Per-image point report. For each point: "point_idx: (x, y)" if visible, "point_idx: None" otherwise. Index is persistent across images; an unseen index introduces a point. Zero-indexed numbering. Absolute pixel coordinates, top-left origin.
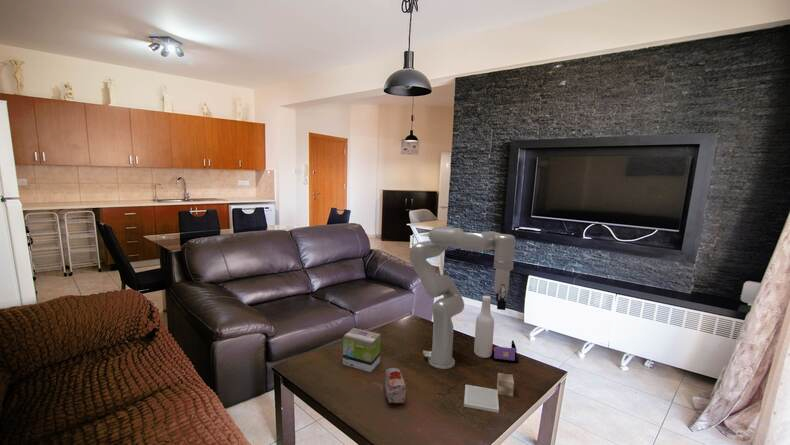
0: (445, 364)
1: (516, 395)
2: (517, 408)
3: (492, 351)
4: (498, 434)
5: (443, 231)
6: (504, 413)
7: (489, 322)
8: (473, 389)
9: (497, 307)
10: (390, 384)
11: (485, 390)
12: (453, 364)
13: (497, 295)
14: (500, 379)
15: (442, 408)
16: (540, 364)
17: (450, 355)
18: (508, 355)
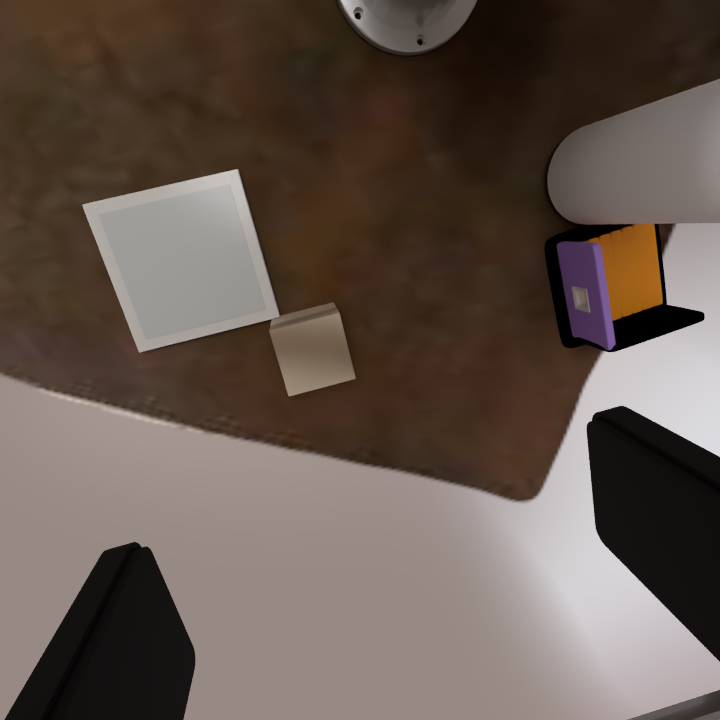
0: (365, 2)
1: None
2: (218, 405)
3: None
4: (11, 375)
5: None
6: (154, 369)
7: (717, 193)
8: (216, 217)
9: (95, 575)
10: None
11: (240, 271)
12: (394, 50)
13: (684, 495)
14: (282, 337)
15: (4, 113)
16: None
17: (403, 4)
18: (580, 310)
